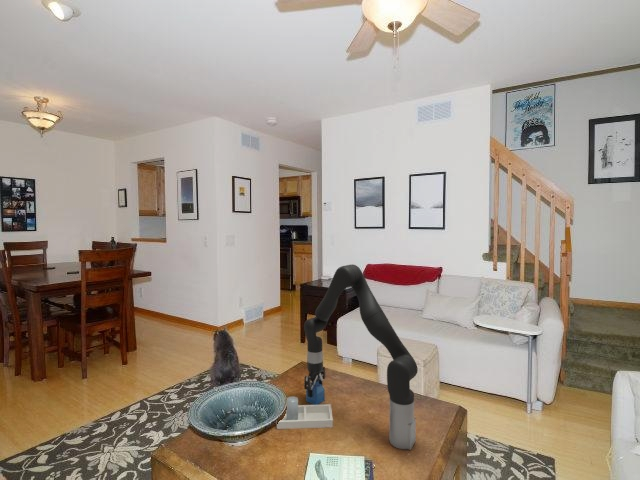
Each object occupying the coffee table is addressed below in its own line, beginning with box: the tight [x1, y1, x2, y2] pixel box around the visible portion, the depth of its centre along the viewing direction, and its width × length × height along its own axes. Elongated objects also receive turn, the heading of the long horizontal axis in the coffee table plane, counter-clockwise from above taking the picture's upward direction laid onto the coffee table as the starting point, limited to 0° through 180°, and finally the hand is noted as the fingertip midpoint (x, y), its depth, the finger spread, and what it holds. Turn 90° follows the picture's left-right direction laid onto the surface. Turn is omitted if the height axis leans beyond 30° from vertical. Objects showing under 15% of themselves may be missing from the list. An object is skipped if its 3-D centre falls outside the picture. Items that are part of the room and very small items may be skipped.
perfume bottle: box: [305, 378, 326, 405], centre depth 161 cm, size 6×6×12 cm
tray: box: [276, 403, 334, 430], centre depth 146 cm, size 23×12×4 cm, turn 92°
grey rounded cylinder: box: [286, 395, 299, 420], centre depth 146 cm, size 5×5×9 cm
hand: (315, 392), depth 161 cm, fingers open, 8 cm apart
